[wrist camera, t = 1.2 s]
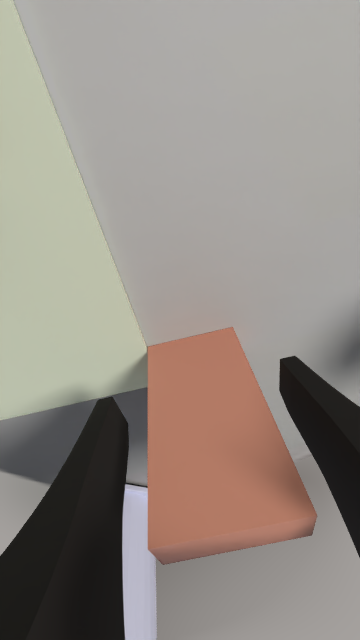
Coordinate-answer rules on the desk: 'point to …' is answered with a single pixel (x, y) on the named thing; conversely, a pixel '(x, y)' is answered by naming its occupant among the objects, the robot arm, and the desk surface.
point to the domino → (216, 455)
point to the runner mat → (53, 258)
